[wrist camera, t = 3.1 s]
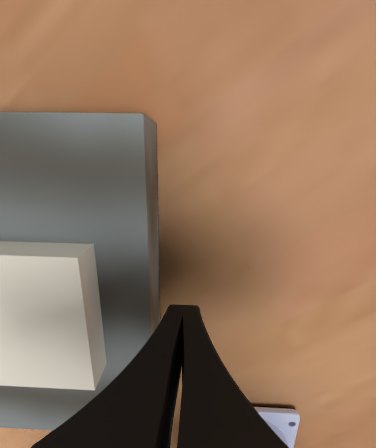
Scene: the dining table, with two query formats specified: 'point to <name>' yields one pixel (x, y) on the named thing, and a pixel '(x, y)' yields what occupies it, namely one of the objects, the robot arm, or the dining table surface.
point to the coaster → (50, 316)
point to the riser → (85, 230)
